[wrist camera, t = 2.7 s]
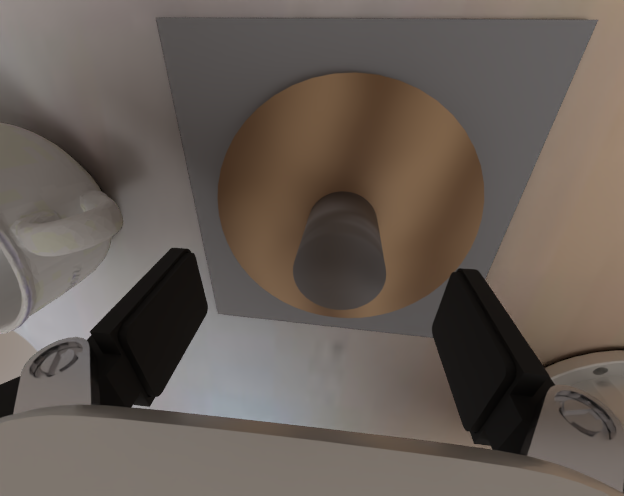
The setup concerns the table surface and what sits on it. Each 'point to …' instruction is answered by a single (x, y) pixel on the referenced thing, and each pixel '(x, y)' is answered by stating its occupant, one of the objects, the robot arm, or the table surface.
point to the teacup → (46, 224)
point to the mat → (381, 61)
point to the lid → (350, 195)
